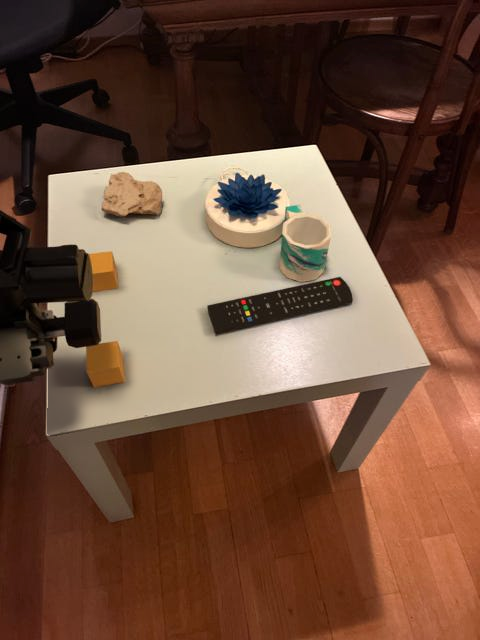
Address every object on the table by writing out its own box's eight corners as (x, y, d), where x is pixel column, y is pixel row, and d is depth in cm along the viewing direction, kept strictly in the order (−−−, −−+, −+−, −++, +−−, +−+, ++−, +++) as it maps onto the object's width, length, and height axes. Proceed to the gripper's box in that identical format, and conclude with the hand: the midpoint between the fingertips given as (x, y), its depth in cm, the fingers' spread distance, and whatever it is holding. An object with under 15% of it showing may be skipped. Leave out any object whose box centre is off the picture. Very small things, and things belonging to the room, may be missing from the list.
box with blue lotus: (303, 212, 84) (270, 144, 95) (215, 226, 81) (192, 154, 92) (298, 240, 89) (268, 173, 101) (215, 254, 87) (194, 183, 98)
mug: (284, 284, 83) (288, 250, 76) (268, 236, 90) (270, 200, 83) (330, 277, 84) (338, 242, 77) (310, 229, 91) (316, 194, 84)
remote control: (207, 310, 80) (207, 305, 79) (341, 281, 84) (343, 276, 83) (215, 336, 77) (215, 331, 76) (354, 304, 81) (355, 299, 80)
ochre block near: (124, 382, 72) (119, 367, 68) (93, 387, 71) (86, 372, 68) (122, 356, 74) (117, 340, 71) (93, 361, 74) (86, 345, 70)
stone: (122, 186, 97) (117, 165, 93) (170, 206, 94) (167, 185, 90) (94, 213, 92) (88, 192, 88) (143, 234, 89) (139, 214, 85)
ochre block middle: (118, 288, 82) (113, 271, 78) (91, 292, 81) (84, 274, 78) (117, 268, 85) (112, 250, 81) (90, 272, 84) (84, 254, 80)
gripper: (-100, 369, 49) (-34, 429, 62) (86, 342, 52) (114, 405, 65) (-81, 285, 56) (-24, 355, 68) (85, 265, 58) (110, 336, 71)
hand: (44, 364), depth 68 cm, fingers closed
